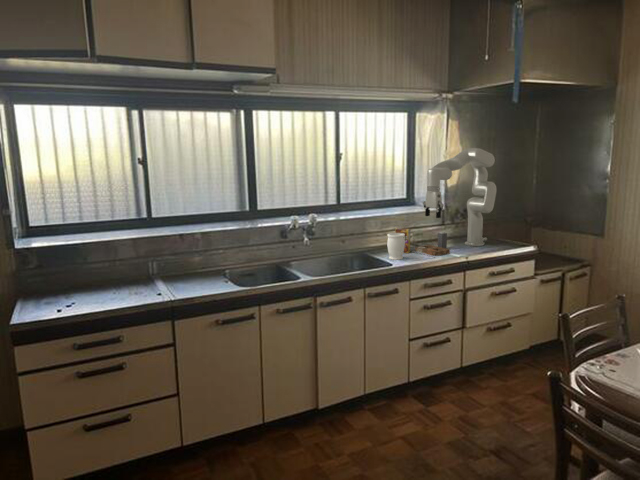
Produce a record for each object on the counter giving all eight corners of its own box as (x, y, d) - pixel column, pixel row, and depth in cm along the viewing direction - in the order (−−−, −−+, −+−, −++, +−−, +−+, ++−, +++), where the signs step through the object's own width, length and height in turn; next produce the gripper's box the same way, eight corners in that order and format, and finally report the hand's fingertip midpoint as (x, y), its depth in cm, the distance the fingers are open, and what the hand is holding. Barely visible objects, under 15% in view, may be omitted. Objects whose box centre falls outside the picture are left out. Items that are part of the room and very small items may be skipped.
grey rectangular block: (442, 247, 316) (442, 231, 313) (446, 248, 312) (447, 232, 310) (437, 248, 314) (437, 232, 312) (441, 249, 310) (442, 233, 308)
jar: (393, 255, 301) (393, 231, 298) (407, 257, 295) (408, 233, 292) (383, 259, 293) (383, 234, 290) (398, 261, 287) (399, 236, 284)
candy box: (394, 252, 311) (394, 228, 308) (397, 251, 314) (397, 227, 311) (408, 253, 306) (408, 229, 303) (410, 252, 310) (410, 228, 307)
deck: (442, 248, 318) (442, 246, 318) (451, 250, 312) (451, 248, 311) (433, 249, 315) (433, 248, 314) (441, 251, 308) (441, 250, 308)
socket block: (429, 249, 314) (429, 244, 314) (449, 255, 299) (449, 248, 298) (414, 252, 309) (415, 246, 308) (434, 257, 293) (434, 251, 292)
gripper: (448, 189, 291) (447, 217, 294) (428, 187, 305) (428, 214, 309) (438, 190, 287) (438, 219, 290) (419, 188, 302) (418, 215, 305)
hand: (432, 216), depth 300 cm, fingers open, 9 cm apart
